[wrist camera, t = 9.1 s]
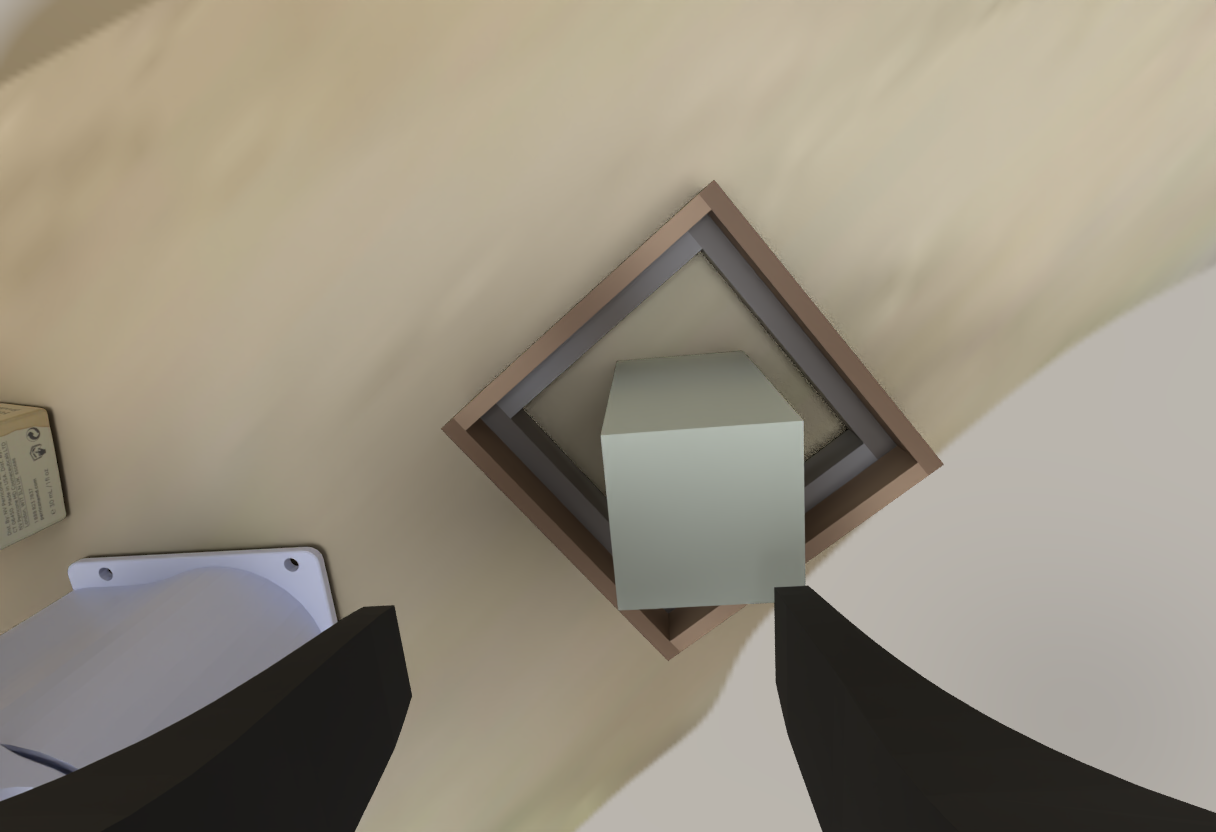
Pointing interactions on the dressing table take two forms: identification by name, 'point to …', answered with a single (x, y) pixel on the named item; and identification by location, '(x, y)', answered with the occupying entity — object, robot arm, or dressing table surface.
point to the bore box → (877, 430)
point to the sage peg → (702, 483)
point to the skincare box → (27, 474)
